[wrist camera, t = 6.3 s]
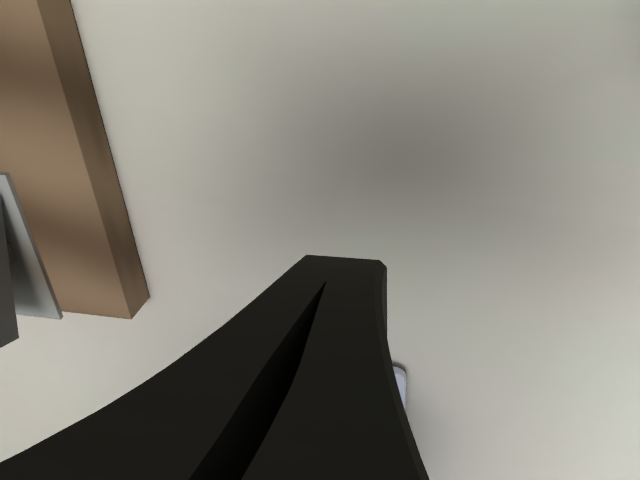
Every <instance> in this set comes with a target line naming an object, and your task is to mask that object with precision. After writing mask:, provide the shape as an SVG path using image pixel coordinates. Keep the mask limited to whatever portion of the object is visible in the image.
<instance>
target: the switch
mask: <svg viewBox="0 0 640 480" xmlns="http://www.w3.org/2000/svg"><path fill="white" fill-rule="evenodd" d="M18 338H19V335H18V327H17V319H16V312H15V304H14V296H13V288H12V280H11V273H10V265H9V257H8V249H7V241H6V234H5V226H4V218H3V210H2V202H1V196H0V348H1V347H3V346H5V345H6V344H8V343H10V342H12V341H14V340H16V339H18Z"/></svg>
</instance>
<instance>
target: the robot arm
mask: <svg viewBox="0 0 640 480" xmlns="http://www.w3.org/2000/svg"><path fill="white" fill-rule="evenodd" d="M406 380H407V377H406V373H405V372H404V371H403V370H402V369H400V368H398V367H394V366H393V365H392V361H391V356H390V352H389V346H388V340H387V267H386V266H385V265H384V264H383V263H382V262H381V261H380V260H370V259H356V258H343V257H329V256H315V255H306V256H304V257H303V258H302V259H301V260H300V261H298V262H297V263H296V264H295V265H294V266H293V267H291V268H290V269H289V270H288V271H287V272H286V273H284V274H283V275H282V276H281V277H280V278H279V279H277V280H276V281H275V282H274V283H273V284H272V285H271V286H269V287H268V288H267V289H266V290H265V291H264V292H262V293H261V294H260V295H259V296H258V297H257V298H256V299H254V300H253V301H252V302H251V303H250V304H248V305H247V306H246V307H245V308H244V309H242V310H241V311H240V312H239V313H238V314H236V315H235V316H234V317H233V318H232V319H230V320H229V321H228V322H227V323H225V324H224V325H223V326H222V327H220V328H219V329H218V330H216V331H215V332H214V333H212V334H211V335H210V336H208V337H207V338H206V339H204V340H203V341H202V342H200V343H199V344H198V345H196V346H195V347H194V348H192V349H191V350H190V351H188V352H187V353H186V354H184V355H183V356H182V357H180V358H179V359H178V360H176V361H175V362H174V363H172V364H171V365H169V366H168V367H166V368H165V369H163V370H162V371H160V372H159V373H157V374H156V375H154V376H153V377H151V378H150V379H148V380H147V381H145V382H144V383H142V384H141V385H139V386H137V387H136V388H134V389H133V390H131V391H129V392H128V393H126V394H125V395H123V396H121V397H120V398H118V399H117V400H115V401H113V402H112V403H110V404H108V405H107V406H105V407H103V408H102V409H100V410H98V411H97V412H95V413H93V414H91V415H89V416H87V417H86V418H84V419H82V420H80V421H78V422H76V423H74V424H73V425H71V426H69V427H67V428H65V429H63V430H62V431H60V432H58V433H56V434H54V435H52V436H50V437H49V438H47V439H45V440H43V441H41V442H39V443H38V444H36V445H34V446H32V447H30V448H28V449H26V450H25V451H23V452H21V453H19V454H17V455H15V456H13V457H11V458H9V459H7V460H4V461H2V462H0V480H429V477H428V475H427V472H426V470H425V467H424V464H423V462H422V459H421V457H420V454H419V451H418V448H417V445H416V442H415V439H414V437H413V434H412V431H411V428H410V425H409V422H408V419H407V416H406Z"/></svg>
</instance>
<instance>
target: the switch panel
mask: <svg viewBox="0 0 640 480" xmlns="http://www.w3.org/2000/svg"><path fill="white" fill-rule="evenodd" d="M0 196H1V202H2V210H3V218H4V226H5V234H6V241H7V249H8V257H9V265H10V273H11V280H12V288H13V296H14V304H15V312H16V314H17V315H26V316H34V317H42V318H50V319H59V320H61V319H62V318H63V315H62V312H61V311H65V312H73V313H82V314H90V315H99V316H107V317H116V318H124V319H132V318H133V317H134V316H135V314H136V313H137V312H138V311H139V310H140V308H141V307H142V306H143V305H144V303H145V302H146V301H147V300H148V299H149V293H148V290H147V286H146V282H145V278H144V275H143V271H142V267H141V264H140V260H139V256H138V252H137V249H136V245H135V241H134V238H133V234H132V230H131V226H130V223H129V219H128V215H127V212H126V208H125V204H124V200H123V197H122V193H121V189H120V186H119V182H118V178H117V174H116V171H115V167H114V163H113V160H112V156H111V152H110V148H109V145H108V141H107V137H106V134H105V130H104V126H103V123H102V119H101V115H100V111H99V108H98V104H97V100H96V97H95V93H94V89H93V85H92V82H91V78H90V74H89V71H88V67H87V63H86V59H85V56H84V52H83V48H82V45H81V41H80V37H79V33H78V30H77V26H76V22H75V19H74V15H73V11H72V7H71V4H70V0H0Z"/></svg>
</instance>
